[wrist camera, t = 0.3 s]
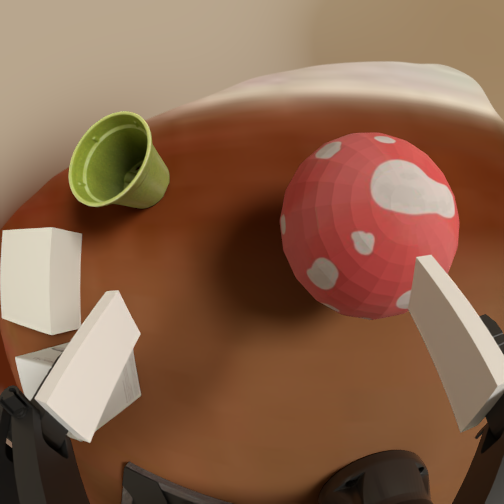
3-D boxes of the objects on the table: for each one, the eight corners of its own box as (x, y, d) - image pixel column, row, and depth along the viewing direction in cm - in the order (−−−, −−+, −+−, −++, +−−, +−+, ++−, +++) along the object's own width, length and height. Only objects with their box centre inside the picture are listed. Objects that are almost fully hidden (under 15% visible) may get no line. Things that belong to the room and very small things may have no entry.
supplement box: (133, 338, 29) (59, 367, 16) (142, 396, 28) (82, 445, 16) (86, 335, 30) (12, 355, 17) (96, 388, 29) (32, 423, 17)
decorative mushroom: (401, 181, 27) (477, 118, 12) (402, 305, 26) (493, 329, 11) (282, 172, 28) (279, 84, 14) (277, 303, 28) (271, 339, 13)
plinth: (82, 327, 30) (51, 335, 24) (30, 314, 31) (1, 318, 25) (83, 234, 31) (52, 227, 25) (31, 235, 32) (2, 230, 26)
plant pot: (105, 173, 31) (62, 148, 22) (167, 132, 30) (135, 94, 22) (126, 237, 30) (79, 226, 21) (196, 196, 29) (165, 167, 21)
